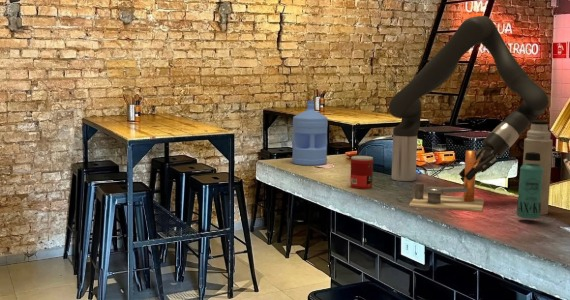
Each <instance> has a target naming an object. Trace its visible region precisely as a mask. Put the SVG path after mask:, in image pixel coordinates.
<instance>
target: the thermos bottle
mask: <svg viewBox="0 0 570 300" xmlns="http://www.w3.org/2000/svg"><path fill="white" fill-rule="evenodd" d="M551 136H552V132H551V131H549V121H546V120H535V121H531V124H530V129H529V130H527V133H526V138H524V139H523V141H524V142H523V157H522V165H524V164H539V165H540V166H541V167H542V168H543V169H544V170H543V181H542V185H543V186H542V197H541V202H542V204H541V209H540V216H543V215H547V214H548V213H549V201H550V189H551V188H550V185H551V172H552V170H551V169H552V158H553V157H552V156H553V139H551ZM527 152H535V153H540V161H529V160H525V155H526V153H527Z"/></svg>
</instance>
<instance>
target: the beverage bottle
mask: <svg viewBox="0 0 570 300" xmlns="http://www.w3.org/2000/svg"><path fill="white" fill-rule="evenodd" d="M525 160H529V161H540V153H535V152H527V153H526V155H525ZM543 170H544V169H543V168H542V167H541V166H540V165H539V164H524V165H523V164H521V166H520V171H519V182H518V190H517V202H516V216H517V217H519V218H522V219H528V220H537V219H540V217H541V215H540V209H541V204H542V202H541V197H542V186H543V185H542V181H543Z"/></svg>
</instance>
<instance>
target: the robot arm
mask: <svg viewBox="0 0 570 300" xmlns="http://www.w3.org/2000/svg"><path fill="white" fill-rule="evenodd" d="M478 45H482V46H484V48H486V50H487V51H488V52H489V54H490V55H491V56H492V59H493V61H494V64H495V67H496V70H497V72H498V74H499V75H498V76H500V78H501V80H502V81H503V82H504V83H505V85H506V86H507V87H508V88H509V90H510V91H511V92H512V93H514V94H517V95H518V96H519V97H520V98H521V99H522V101H523V102H522V103H520V105H519V106H518V107H517V108H516V109H515V111H513V112H511V113H509V115H507V116H506V118H505V119H504V120H503V121H501V122H500V123H499V124H498V125H497V126H495V128H494V129H493V130H492V131H491V132H490V133H489V134H488V135H487V136H486V137H485V138H484V139H483V140H482V147H481V148H480V149H478V150H477V155H476V164H475V165H474V167H473V168H472V169H471V170H470V171H469V172H468V173H467V174H466V175H465V167H463V169H462V170H461V171H460V172H459V173H458V175H459V176H460V177H461V179H464V175H465V177H466V179H467V180H471V179H472V178H473V177H474V176H475V177H476V175H477V174H479V173H484V172H486V171H487V170H488V169H490V168H492V167H493V166H494V165H495V164H497V163H498V159H497V158H500V157H502V156H503V155H505V153H506V152H507V151H508V150H509V149H510V148H511V147H512V146H513V145H514V144H515V142H516V141H517V140H518V138H520V137H521V135H522V134H524V132H525V131H526V130H527V129H528V127H530V126H531V121H537V119H538V118H540V116H542V114H543V113H544V112H545V110H546V109H547V107H548V106H549V102H550V98H549V96H548V95H547V93H546V92H545V90H544V89H543V88H542V87H541V86H540V85H538V83H536V81H533V80H532V79H531V78H530V76H529V74H528V73H526V71H525V70H524V69H523V67H522V66H521V65H520V63H519V62H518V61H517V60H516V58H515V57H514V55H513V53H512V52H511V51H510V49H509V48H508V46H507V44H506V43H505V41H504V39H503V37H502V36H501V33H500V32H499V30H498V28H497V26H496V24H495V23H494V21H493V20H492V19H491V18H490V17H488V16H486V15H478V16H472V17H471V16H470V17H468V18H467V19H465V20H464V21H462V22H461V24H460V25H459V27H457V29H456V30H455V32H454V34H452V36H451V37H450V39H449V40H448V41H447V42H446V43H445V45H443V46H442V47H441V49H440V50H438V51H437V52H436V53H435V55H433V56H432V58H431V59H430V60H429V61H428V62H427V63H426V64H425V65H424V66H423V68H422V69H421V70H420V71H419V72H418V73H417V74H416V75H415V76H414V77H413V78H412V79H411V80H410V81H409V82H408V83H407V84H406V85H405V86H404V87H403V88H402V89H401V90H400V91H399V90H398V92H397V93H396V94H395V95H394V96H393V97H392V98H391V99H390V102H389V103H388V104H389V105H388V110H389V113H390V115H391V116H392V117H394V118H397V119H401V121H400V123H399V124H397V126H395V127H393V130H392V152H391V153H392V154H391V155H392V156H391V157H392V158H391V162H392V163H391V180H393V181H398V182H414V181H416V180H417V179H416V177H417V174H416V173H417V156H418V155H417V151H418V132H419V130H420V127H421V116H422V103H421V98H422V97H424V96H425V95H427V94H429V93H430V92H433V91H434V90H436V89H438V88H439V87H441V86H442V85H444V83H446V81H448V79H449V78H450V77H451V76H452V75H453V74H454V73H455V72H456V69H457V68H458V64H459V62H460V60H461V59H462V58H463V56H464V55H465V54H466V53H468V52H469V50H471V49H472V48H473V47H475V46H478ZM473 151H476V150H475V149H474V150H473Z"/></svg>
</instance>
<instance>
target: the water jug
mask: <svg viewBox="0 0 570 300" xmlns="http://www.w3.org/2000/svg"><path fill="white" fill-rule="evenodd" d="M306 103H307V104H306V110H304V111H302V112H300V113H298V114H297V115H294V116H293V117H292V118H293V119H292V143H291V144H292V157H291V162H292V163H293V164H294V165H298V166H310V167H311V166H323V165H326V164H327V163H328V162H327V161H328V158H327V157H328V126H329V125H328V117H327V116H325V115H324V114H322V113H320V112H318V111H316V110H315V104H314V103H315V101H314V100H307V101H306Z"/></svg>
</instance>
